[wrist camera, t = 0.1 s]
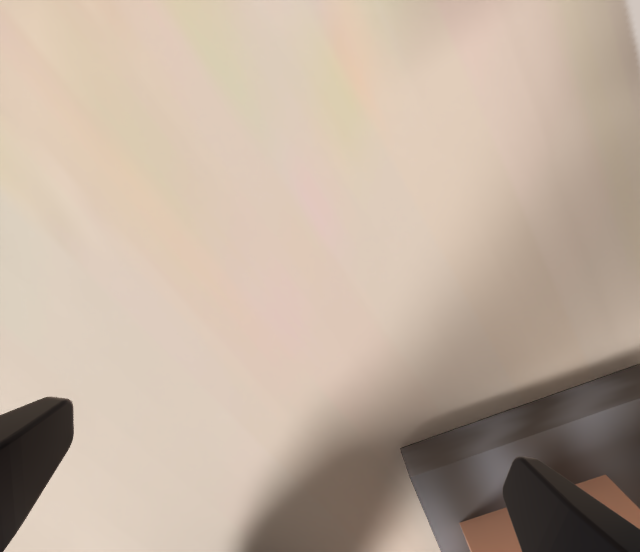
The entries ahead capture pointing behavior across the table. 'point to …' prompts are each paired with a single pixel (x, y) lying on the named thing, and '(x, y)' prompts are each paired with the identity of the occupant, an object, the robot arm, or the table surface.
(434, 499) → the stop jig
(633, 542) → the robot arm
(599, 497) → the terracotta block
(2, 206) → the table surface
